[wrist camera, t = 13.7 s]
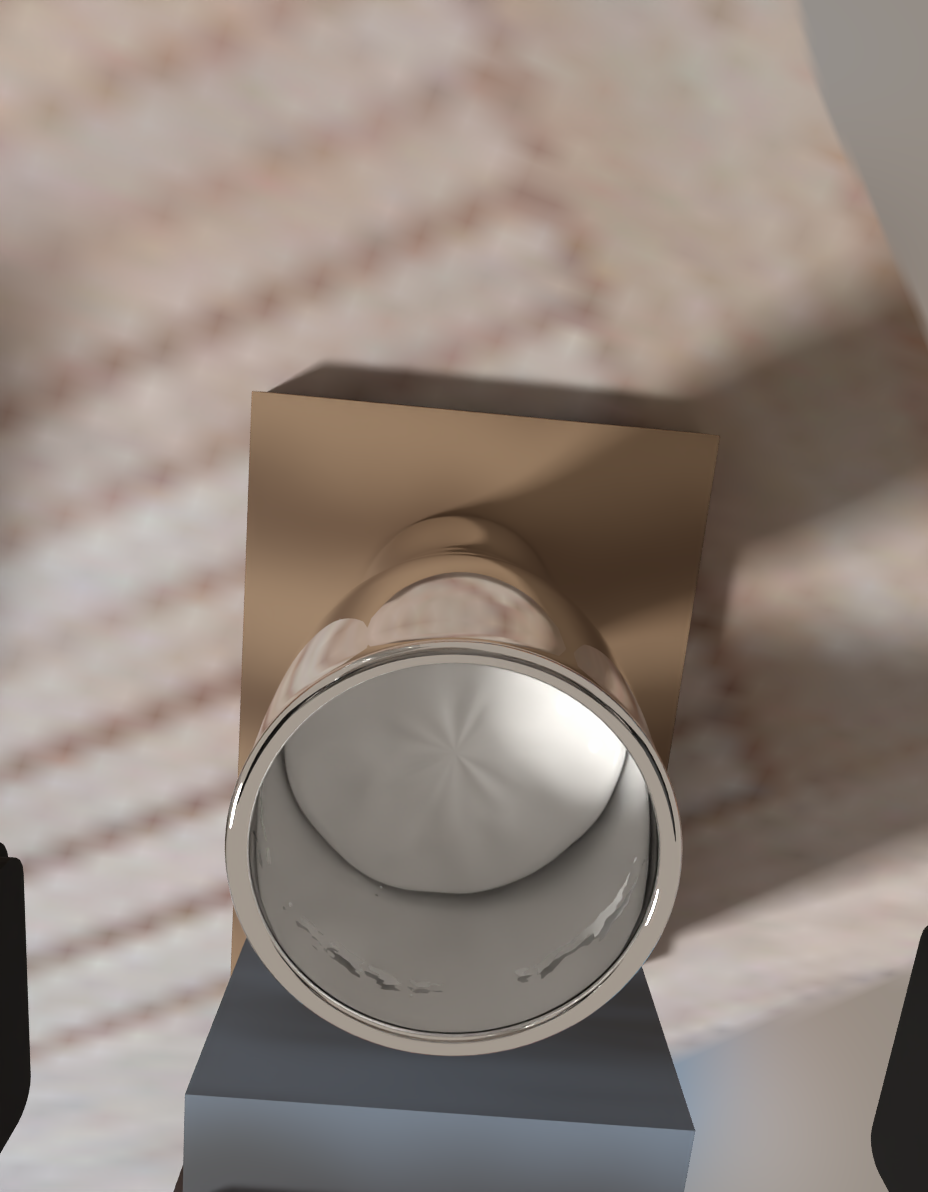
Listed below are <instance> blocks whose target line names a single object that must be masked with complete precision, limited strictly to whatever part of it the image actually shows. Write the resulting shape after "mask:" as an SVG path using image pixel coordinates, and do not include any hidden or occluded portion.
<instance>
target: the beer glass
mask: <svg viewBox="0 0 928 1192" xmlns="http://www.w3.org/2000/svg"><path fill="white" fill-rule="evenodd" d="M225 864H226V873H227V880H228V885H229V890H230V894H231V898H232V902H233V905H234V908H235V911H236V914H237V916H238V919H239V922H240V924H241V926H242V929H243V931H244V933H245V935H246V937H247V939H248V941H249V942H250V944H251V946H252V948H253V949H254V951H255V952H256V954H257V955H258V957H259V958H260V960H261V961H262V963H263V964H264V965H265V967H266V968H267V969H268V971H269V972H270V973H271V974H272V975H273V977H274V978H275V979H276V980H277V981H278V982H279V983H280V984H281V985H282V986H283V987H284V988H285V989H286V990H287V991H288V992H289V993H290V994H291V995H292V996H293V997H294V998H295V999H297V1000H298V1001H299V1002H300V1003H301V1004H303V1005H304V1006H305V1007H306V1008H308V1009H309V1010H310V1011H312V1012H313V1013H315V1014H316V1015H317V1016H319V1017H320V1018H322V1019H324V1020H325V1021H327V1022H329V1023H330V1024H332V1025H334V1026H336V1027H337V1028H339V1029H341V1030H343V1031H345V1032H347V1033H349V1034H351V1035H354V1036H356V1037H358V1038H361V1039H363V1040H366V1041H369V1042H371V1043H374V1044H377V1045H381V1046H384V1047H388V1048H391V1049H395V1050H400V1051H404V1052H409V1053H416V1054H423V1055H432V1056H475V1055H484V1054H491V1053H497V1052H502V1051H507V1050H512V1049H516V1048H519V1047H523V1046H527V1045H530V1044H533V1043H536V1042H538V1041H541V1040H544V1039H546V1038H549V1037H551V1036H553V1035H556V1034H558V1033H560V1032H562V1031H564V1030H566V1029H568V1028H570V1027H571V1026H573V1025H575V1024H577V1023H578V1022H580V1021H582V1020H583V1019H585V1018H586V1017H588V1016H589V1015H591V1014H592V1013H594V1012H595V1011H597V1010H598V1009H599V1008H601V1007H602V1006H603V1005H604V1004H606V1003H607V1002H608V1001H609V1000H610V999H612V998H613V997H614V996H615V995H616V994H617V993H618V992H619V991H620V990H621V989H622V988H623V987H624V986H625V985H626V984H627V983H628V982H629V981H630V980H631V979H632V978H633V977H634V975H635V974H636V973H637V972H638V971H639V969H640V968H641V967H642V965H643V964H644V963H645V961H646V960H647V958H648V957H649V956H650V954H651V952H652V951H653V949H654V948H655V946H656V944H657V943H658V941H659V939H660V937H661V935H662V933H663V931H664V929H665V927H666V924H667V922H668V920H669V917H670V914H671V912H672V909H673V906H674V903H675V899H676V895H677V891H678V886H679V881H680V875H681V867H682V829H681V820H680V814H679V809H678V804H677V800H676V796H675V793H674V790H673V787H672V784H671V781H670V778H669V776H668V773H667V771H666V769H665V767H664V765H663V762H662V760H661V758H660V757H659V755H658V753H657V751H656V748H655V745H654V741H653V738H652V735H651V733H650V730H649V727H648V725H647V722H646V719H645V717H644V714H643V711H642V708H641V706H640V703H639V701H638V699H637V696H636V694H635V692H634V690H633V688H632V686H631V684H630V682H629V680H628V678H627V676H626V674H625V672H624V670H623V668H622V666H621V664H620V662H619V660H618V658H617V657H616V655H615V653H614V652H613V650H612V649H611V647H610V646H609V644H608V643H607V641H606V640H605V639H604V638H603V636H602V635H601V634H600V632H599V631H598V630H597V628H596V627H595V626H594V624H593V623H592V622H591V620H590V619H589V618H588V617H587V616H586V614H585V613H584V612H583V611H582V610H581V609H580V608H579V607H578V606H577V605H576V604H575V603H574V602H573V601H572V600H571V599H570V598H568V597H567V596H566V595H565V594H564V593H562V592H561V591H560V590H558V589H557V588H556V587H554V586H553V585H551V583H550V580H549V577H548V575H547V572H546V570H545V568H544V566H543V564H542V563H541V561H540V559H539V558H538V556H537V555H536V554H535V552H534V551H533V550H532V549H531V548H530V546H529V545H528V544H527V543H526V542H525V541H524V540H522V539H521V538H520V537H519V536H518V535H516V534H515V533H514V532H512V531H511V530H509V529H507V528H506V527H504V526H502V525H500V524H498V523H495V522H493V521H490V520H487V519H484V518H480V517H475V516H468V515H446V516H439V517H434V518H430V519H426V520H423V521H420V522H418V523H415V524H413V525H411V526H409V527H407V528H406V529H404V530H402V531H401V532H399V533H398V534H397V535H395V536H394V537H393V538H392V539H391V540H389V541H388V542H387V543H386V544H385V545H384V546H383V547H382V549H381V550H380V551H379V552H378V554H377V555H376V556H375V558H374V559H373V561H372V563H371V564H370V566H369V568H368V570H367V572H366V575H365V577H364V580H363V583H361V584H359V585H358V586H356V587H355V588H354V589H352V590H351V591H350V592H348V593H347V594H346V595H344V596H343V597H342V598H341V599H340V600H339V601H337V602H336V603H335V604H334V605H333V606H332V607H331V608H330V609H329V610H328V612H327V613H326V614H325V615H324V616H323V617H322V618H321V620H320V621H319V622H318V624H317V625H316V626H315V627H314V629H313V630H312V631H311V632H310V634H309V635H308V636H307V637H306V639H305V640H304V641H303V643H302V644H301V646H300V647H299V648H298V650H297V652H296V653H295V655H294V656H293V658H292V660H291V662H290V664H289V666H288V667H287V669H286V671H285V673H284V675H283V677H282V679H281V681H280V682H279V684H278V686H277V688H276V690H275V692H274V694H273V697H272V699H271V701H270V704H269V706H268V709H267V711H266V714H265V716H264V719H263V721H262V724H261V726H260V729H259V732H258V735H257V737H256V740H255V743H254V746H253V748H252V750H251V752H250V754H249V756H248V757H247V759H246V761H245V763H244V765H243V768H242V770H241V772H240V774H239V777H238V779H237V782H236V785H235V788H234V791H233V795H232V798H231V802H230V806H229V811H228V816H227V823H226V833H225Z"/></svg>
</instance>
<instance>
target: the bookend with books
mask: <svg viewBox="0 0 928 1192" xmlns="http://www.w3.org/2000/svg"><path fill="white" fill-rule="evenodd" d="M719 439H720V436H717V435H710V434H703V433H694V432H683V431H673V430H662V429H652V428H641V427H631V426H620V425H610V424H599V423H589V422H578V421H568V420H557V419H547V418H536V417H526V416H515V415H505V414H494V413H484V412H473V411H463V410H452V409H442V408H431V407H421V406H410V405H400V404H389V403H379V402H368V401H358V400H347V399H337V398H326V397H316V396H305V395H295V394H284V393H274V392H257V391H252V402H251V429H250V457H249V484H248V512H247V540H246V567H245V595H244V622H243V650H242V677H241V705H240V733H239V760H238V777H239V774H240V772H241V770H242V768H243V765H244V763H245V761H246V759H247V757H248V756H249V754H250V752H251V750H252V748H253V746H254V743H255V740H256V737H257V735H258V732H259V729H260V726H261V724H262V721H263V719H264V716H265V714H266V711H267V709H268V706H269V704H270V701H271V699H272V697H273V694H274V692H275V690H276V688H277V686H278V684H279V682H280V681H281V679H282V677H283V675H284V673H285V671H286V669H287V667H288V666H289V664H290V662H291V660H292V658H293V656H294V655H295V653H296V652H297V650H298V648H299V647H300V646H301V644H302V643H303V641H304V640H305V639H306V637H307V636H308V635H309V634H310V632H311V631H312V630H313V629H314V627H315V626H316V625H317V624H318V622H319V621H320V620H321V618H322V617H323V616H324V615H325V614H326V613H327V612H328V610H329V609H330V608H331V607H332V606H333V605H334V604H335V603H336V602H337V601H339V600H340V599H341V598H342V597H343V596H344V595H346V594H347V593H348V592H350V591H351V590H352V589H354V588H355V587H356V586H358V585H359V584H361V583H363V580H364V577H365V575H366V572H367V570H368V568H369V566H370V564H371V563H372V561H373V559H374V558H375V556H376V555H377V554H378V552H379V551H380V550H381V549H382V547H383V546H384V545H385V544H386V543H387V542H388V541H389V540H391V539H392V538H393V537H394V536H395V535H397V534H398V533H399V532H401V531H402V530H404V529H406V528H407V527H409V526H411V525H413V524H415V523H418V522H420V521H423V520H426V519H430V518H434V517H439V516H446V515H468V516H475V517H480V518H484V519H487V520H490V521H493V522H495V523H498V524H500V525H502V526H504V527H506V528H507V529H509V530H511V531H512V532H514V533H515V534H516V535H518V536H519V537H520V538H521V539H522V540H524V541H525V542H526V543H527V544H528V545H529V546H530V548H531V549H532V550H533V551H534V552H535V554H536V555H537V556H538V558H539V559H540V561H541V563H542V564H543V566H544V568H545V570H546V572H547V575H548V577H549V580H550V583H551V585H553V586H554V587H556V588H557V589H558V590H560V591H561V592H562V593H564V594H565V595H566V596H567V597H568V598H570V599H571V600H572V601H573V602H574V603H575V604H576V605H577V606H578V607H579V608H580V609H581V610H582V611H583V612H584V613H585V614H586V616H587V617H588V618H589V619H590V620H591V622H592V623H593V624H594V626H595V627H596V628H597V630H598V631H599V632H600V634H601V635H602V636H603V638H604V639H605V640H606V641H607V643H608V644H609V646H610V647H611V649H612V650H613V652H614V653H615V655H616V657H617V658H618V660H619V662H620V664H621V666H622V668H623V670H624V672H625V674H626V676H627V678H628V680H629V682H630V684H631V686H632V688H633V690H634V692H635V694H636V696H637V699H638V701H639V703H640V706H641V708H642V711H643V714H644V717H645V719H646V722H647V725H648V727H649V730H650V733H651V735H652V738H653V741H654V745H655V748H656V751H657V753H658V755H659V757H660V758H661V760H662V762H663V765H664V767H665V769H666V771H667V768H668V762H669V755H670V749H671V743H672V736H673V730H674V724H675V717H676V711H677V705H678V698H679V692H680V686H681V679H682V673H683V667H684V660H685V654H686V648H687V641H688V635H689V629H690V622H691V616H692V610H693V603H694V597H695V591H696V584H697V578H698V572H699V565H700V559H701V553H702V546H703V540H704V534H705V527H706V521H707V515H708V508H709V502H710V496H711V489H712V483H713V477H714V471H715V464H716V458H717V452H718V445H719ZM694 1135H695V1129H694V1126H693V1123H692V1120H691V1117H690V1113H689V1111H688V1107H687V1104H686V1101H685V1098H684V1095H683V1092H682V1089H681V1086H680V1083H679V1080H678V1077H677V1073H676V1070H675V1067H674V1064H673V1061H672V1058H671V1055H670V1052H669V1049H668V1046H667V1043H666V1040H665V1036H664V1033H663V1030H662V1027H661V1024H660V1021H659V1018H658V1015H657V1012H656V1009H655V1006H654V1003H653V1000H652V996H651V993H650V990H649V987H648V984H647V981H646V978H645V975H644V972H643V969H642V967H641V968H640V969H639V971H638V972H637V973H636V974H635V975H634V977H633V978H632V979H631V980H630V981H629V982H628V983H627V984H626V985H625V986H624V987H623V988H622V989H621V990H620V991H619V992H618V993H617V994H616V995H615V996H614V997H613V998H612V999H610V1000H609V1001H608V1002H607V1003H606V1004H604V1005H603V1006H602V1007H601V1008H599V1009H598V1010H597V1011H595V1012H594V1013H592V1014H591V1015H589V1016H588V1017H586V1018H585V1019H583V1020H582V1021H580V1022H578V1023H577V1024H575V1025H573V1026H571V1027H570V1028H568V1029H566V1030H564V1031H562V1032H560V1033H558V1034H556V1035H553V1036H551V1037H549V1038H546V1039H544V1040H541V1041H538V1042H536V1043H533V1044H530V1045H527V1046H523V1047H519V1048H516V1049H512V1050H507V1051H502V1052H497V1053H491V1054H484V1055H475V1056H432V1055H423V1054H416V1053H409V1052H404V1051H400V1050H395V1049H391V1048H388V1047H384V1046H381V1045H377V1044H374V1043H371V1042H369V1041H366V1040H363V1039H361V1038H358V1037H356V1036H354V1035H351V1034H349V1033H347V1032H345V1031H343V1030H341V1029H339V1028H337V1027H336V1026H334V1025H332V1024H330V1023H329V1022H327V1021H325V1020H324V1019H322V1018H320V1017H319V1016H317V1015H316V1014H315V1013H313V1012H312V1011H310V1010H309V1009H308V1008H306V1007H305V1006H304V1005H303V1004H301V1003H300V1002H299V1001H298V1000H297V999H295V998H294V997H293V996H292V995H291V994H290V993H289V992H288V991H287V990H286V989H285V988H284V987H283V986H282V985H281V984H280V983H279V982H278V981H277V980H276V979H275V978H274V977H273V975H272V974H271V973H270V972H269V971H268V969H267V968H266V967H265V965H264V964H263V963H262V961H261V960H260V958H259V957H258V955H257V954H256V952H255V951H254V949H253V948H252V946H251V944H250V942H249V941H248V939H247V937H246V935H245V933H244V931H243V929H242V926H241V924H240V922H239V919H238V916H237V914H236V911H235V908H234V905H233V926H232V953H231V978H230V981H229V983H228V986H227V988H226V991H225V993H224V996H223V998H222V1001H221V1004H220V1006H219V1009H218V1011H217V1014H216V1016H215V1019H214V1021H213V1024H212V1027H211V1029H210V1032H209V1034H208V1037H207V1039H206V1042H205V1044H204V1047H203V1050H202V1052H201V1055H200V1057H199V1060H198V1062H197V1065H196V1068H195V1070H194V1073H193V1075H192V1078H191V1080H190V1083H189V1085H188V1088H187V1091H186V1093H185V1116H184V1159H183V1167H182V1169H181V1172H180V1175H179V1178H178V1181H177V1183H176V1186H175V1189H174V1192H684V1188H685V1182H686V1178H687V1172H688V1167H689V1162H690V1156H691V1151H692V1145H693V1140H694Z"/></svg>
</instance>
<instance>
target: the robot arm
mask: <svg viewBox="0 0 928 1192" xmlns="http://www.w3.org/2000/svg"><path fill="white" fill-rule="evenodd" d="M30 1079H31V1071H30V1043H29V1014H28V986H27V957H26V929H25V901H24V873H23V866H22V863H21V861H20V860H19V859H18V858H13V857H8V853H7V850H6V848H5V846H4V845H3V844H2V843H0V1153H1V1151H2V1150H3V1148H4V1146H5V1144H6V1143H7V1141H8V1139H9V1137H10V1136H11V1134H12V1132H13V1131H14V1129H15V1127H16V1125H17V1124H18V1122H19V1120H20V1118H21V1116H22V1113H23V1110H24V1108H25V1105H26V1102H27V1098H28V1094H29V1088H30ZM871 1147H872V1153H873V1157H874V1161H875V1164H876V1167H877V1170H878V1172H879V1174H880V1176H881V1178H882V1179H883V1181H884V1183H885V1185H886V1187H887V1189H888V1191H889V1192H928V926H927V927H926V928H925V929H924V930H923V933H922V935H921V938H920V942H919V946H918V950H917V954H916V958H915V961H914V965H913V969H912V973H911V977H910V981H909V985H908V989H907V993H906V997H905V1001H904V1005H903V1008H902V1012H901V1017H900V1021H899V1024H898V1028H897V1032H896V1036H895V1040H894V1044H893V1048H892V1052H891V1056H890V1059H889V1063H888V1067H887V1071H886V1075H885V1079H884V1083H883V1087H882V1091H881V1095H880V1099H879V1103H878V1107H877V1110H876V1114H875V1118H874V1122H873V1126H872V1132H871Z"/></svg>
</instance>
